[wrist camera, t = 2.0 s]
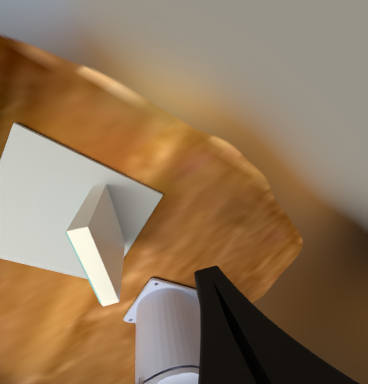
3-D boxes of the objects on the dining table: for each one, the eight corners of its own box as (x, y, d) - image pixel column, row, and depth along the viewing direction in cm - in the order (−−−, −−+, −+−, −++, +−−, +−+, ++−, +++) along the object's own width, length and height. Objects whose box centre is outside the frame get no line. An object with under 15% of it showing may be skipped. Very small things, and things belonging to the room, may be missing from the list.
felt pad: (162, 193, 19) (162, 195, 19) (108, 280, 22) (107, 283, 22) (16, 122, 14) (13, 123, 14) (-28, 247, 17) (-32, 250, 17)
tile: (106, 184, 17) (87, 226, 11) (125, 242, 20) (119, 302, 14) (90, 186, 17) (62, 232, 11) (112, 245, 20) (100, 307, 14)
